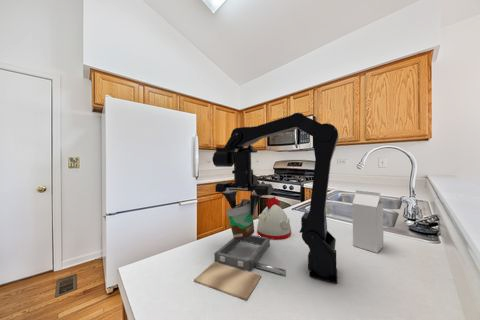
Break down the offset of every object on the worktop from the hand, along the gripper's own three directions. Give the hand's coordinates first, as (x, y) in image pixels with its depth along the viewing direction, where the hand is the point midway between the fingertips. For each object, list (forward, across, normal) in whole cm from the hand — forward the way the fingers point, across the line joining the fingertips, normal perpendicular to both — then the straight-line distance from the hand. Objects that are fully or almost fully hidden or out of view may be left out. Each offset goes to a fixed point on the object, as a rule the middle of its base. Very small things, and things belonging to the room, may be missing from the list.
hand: (243, 214), depth 61 cm
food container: (+6, -1, -1) cm, 7 cm away
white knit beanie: (+13, -4, -20) cm, 24 cm away
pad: (+13, -2, +14) cm, 19 cm away
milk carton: (+13, -37, -22) cm, 45 cm away
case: (+13, 0, 0) cm, 13 cm away
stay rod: (+13, -10, +6) cm, 17 cm away
